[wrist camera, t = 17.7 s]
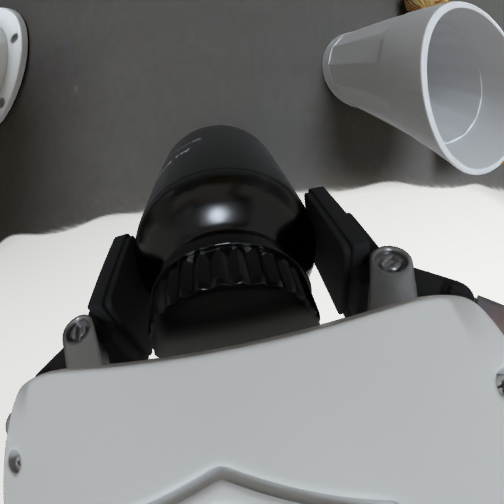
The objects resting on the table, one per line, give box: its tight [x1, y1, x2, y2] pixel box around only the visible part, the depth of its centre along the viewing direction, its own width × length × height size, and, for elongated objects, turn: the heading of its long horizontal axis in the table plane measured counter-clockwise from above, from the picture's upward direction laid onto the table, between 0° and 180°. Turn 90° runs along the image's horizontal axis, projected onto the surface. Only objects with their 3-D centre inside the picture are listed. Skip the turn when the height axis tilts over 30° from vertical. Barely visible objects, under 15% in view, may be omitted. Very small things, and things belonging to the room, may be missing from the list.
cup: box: [322, 1, 504, 175], centre depth 11 cm, size 8×8×12 cm
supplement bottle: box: [135, 125, 320, 358], centre depth 12 cm, size 7×7×12 cm
